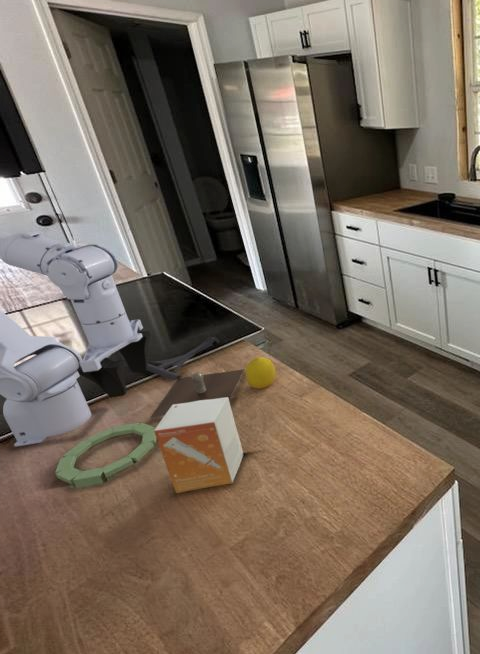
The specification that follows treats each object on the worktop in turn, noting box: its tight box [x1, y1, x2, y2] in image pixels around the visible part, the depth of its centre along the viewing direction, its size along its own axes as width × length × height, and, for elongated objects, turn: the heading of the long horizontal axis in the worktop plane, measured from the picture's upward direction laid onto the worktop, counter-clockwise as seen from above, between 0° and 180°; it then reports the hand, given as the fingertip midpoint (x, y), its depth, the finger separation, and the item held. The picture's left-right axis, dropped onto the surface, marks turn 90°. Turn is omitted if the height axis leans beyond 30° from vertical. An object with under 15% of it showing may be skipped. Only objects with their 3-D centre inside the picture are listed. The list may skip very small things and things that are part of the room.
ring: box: [54, 422, 157, 489], centre depth 72 cm, size 13×13×2 cm
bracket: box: [146, 336, 220, 381], centre depth 100 cm, size 14×15×3 cm
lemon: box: [244, 356, 276, 390], centre depth 89 cm, size 6×6×8 cm
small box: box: [154, 397, 244, 494], centre depth 67 cm, size 8×6×13 cm
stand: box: [150, 368, 246, 418], centre depth 87 cm, size 13×13×6 cm
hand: (129, 382), depth 75 cm, fingers open, 7 cm apart
